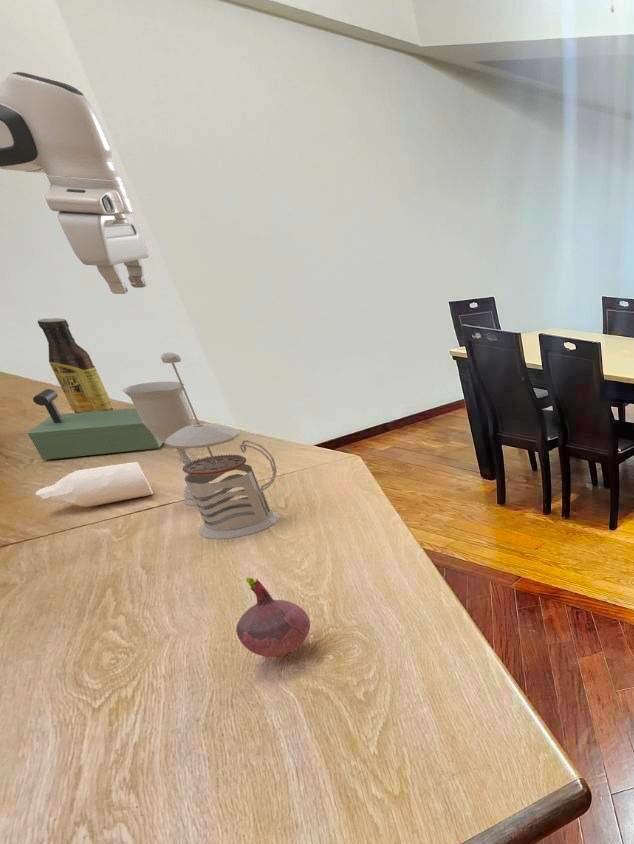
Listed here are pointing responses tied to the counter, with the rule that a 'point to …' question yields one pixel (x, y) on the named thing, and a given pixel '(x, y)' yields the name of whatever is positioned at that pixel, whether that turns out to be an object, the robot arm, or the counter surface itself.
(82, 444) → the green wedge with knob
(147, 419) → the chalice
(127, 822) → the counter surface
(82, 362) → the sauce bottle
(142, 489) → the white bottle
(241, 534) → the french press
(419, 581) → the counter surface
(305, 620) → the vegetable
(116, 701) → the counter surface
